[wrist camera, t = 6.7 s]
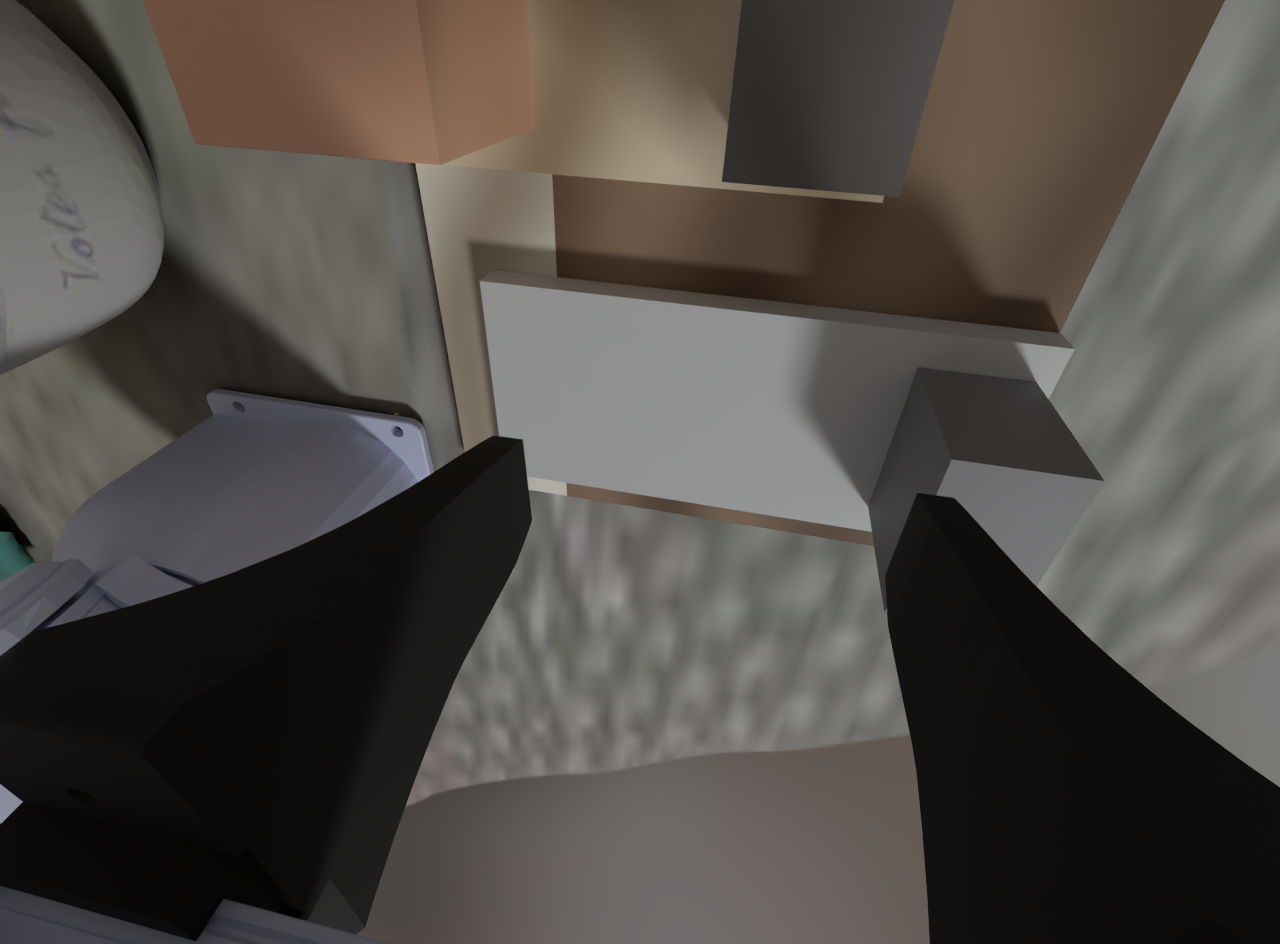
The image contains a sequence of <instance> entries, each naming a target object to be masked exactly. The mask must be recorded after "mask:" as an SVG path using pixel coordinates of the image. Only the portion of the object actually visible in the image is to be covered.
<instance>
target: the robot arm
mask: <svg viewBox="0 0 1280 944" xmlns="http://www.w3.org/2000/svg"><path fill="white" fill-rule="evenodd" d="M206 398H207V402H208V404H209V406H210V408H211V411H212V413H213V415H211V416H210V417H208V418H207V419H205V420H204V421H202V422H201V423H199V424H198V425H196V426H195V427H193V428H192V429H190V430H189V431H187V432H186V433H184V434H183V435H181V436H180V437H178V438H177V439H175V440H174V441H172V442H171V443H169V444H168V445H166V446H165V447H163V448H162V449H160V450H159V451H157V452H156V453H154V454H153V455H152V456H150V457H149V458H147V459H146V460H144V461H143V462H141V463H140V464H138V465H137V466H135V467H134V468H132V469H131V470H129V471H128V472H126V473H125V474H123V475H122V476H120V477H119V478H117V479H116V480H114V481H113V482H111V483H110V484H108V485H107V486H105V487H104V488H102V489H101V490H99V491H98V492H96V493H95V494H94V495H92V496H91V497H90V498H89V499H88V500H86V501H85V502H84V503H83V504H82V505H81V506H80V507H79V508H78V509H77V511H76V512H75V513H74V514H73V516H72V517H71V518H70V520H69V521H68V522H67V524H66V526H65V527H64V529H63V531H62V533H61V535H60V537H59V539H58V541H57V543H56V546H55V548H54V552H53V556H52V561H39V562H35V563H32V564H30V565H28V566H26V567H25V568H23V569H21V570H19V571H18V572H16V573H14V574H13V575H11V576H9V577H8V578H6V579H4V580H3V581H1V582H0V944H389V943H386V942H382V941H378V940H375V939H371V938H367V937H363V936H360V935H356V934H357V933H359V932H360V931H361V930H362V929H363V928H365V926H366V923H367V919H368V916H369V913H370V910H371V906H372V903H373V900H374V897H375V894H376V891H377V888H378V885H379V882H380V879H381V876H382V873H383V870H384V867H385V864H386V861H387V858H388V855H389V852H390V848H391V845H392V842H393V839H394V836H395V834H396V831H397V828H398V825H399V823H400V819H401V817H402V814H403V811H404V809H405V806H406V803H407V800H408V797H409V795H410V792H411V789H412V786H413V783H414V781H415V778H416V775H417V773H418V770H419V768H420V765H421V762H422V760H423V757H424V755H425V752H426V749H427V747H428V744H429V742H430V739H431V736H432V734H433V731H434V729H435V726H436V724H437V721H438V719H439V717H440V714H441V712H442V709H443V707H444V704H445V702H446V700H447V697H448V695H449V692H450V690H451V688H452V685H453V683H454V680H455V678H456V676H457V674H458V672H459V670H460V668H461V666H462V664H463V662H464V660H465V658H466V656H467V654H468V652H469V650H470V649H471V647H472V645H473V643H474V641H475V639H476V637H477V636H478V634H479V632H480V630H481V628H482V626H483V625H484V623H485V621H486V619H487V617H488V615H489V613H490V612H491V610H492V608H493V606H494V604H495V602H496V601H497V599H498V597H499V595H500V593H501V591H502V589H503V587H504V586H505V584H506V582H507V580H508V578H509V576H510V574H511V572H512V570H513V568H514V566H515V565H516V562H517V560H518V557H519V554H520V552H521V549H522V547H523V544H524V541H525V539H526V536H527V533H528V530H529V527H530V524H531V522H532V516H531V507H530V498H529V489H528V480H527V471H526V463H525V454H524V445H523V439H516V438H509V437H501V436H494V435H493V436H491V437H489V438H487V439H486V440H484V441H482V442H481V443H479V444H477V445H476V446H474V447H472V448H471V449H469V450H468V451H466V452H465V453H463V454H462V455H460V456H458V457H457V458H455V459H454V460H452V461H451V462H449V463H448V464H446V465H444V466H443V467H441V468H440V469H438V470H437V471H435V472H434V470H433V465H432V461H431V456H430V451H429V447H428V442H427V437H426V433H425V429H424V427H423V425H422V424H421V423H420V422H419V421H417V420H416V419H413V418H408V417H402V416H395V415H388V414H382V413H375V412H368V411H362V410H355V409H349V408H342V407H335V406H329V405H322V404H315V403H309V402H302V401H295V400H289V399H282V398H276V397H269V396H262V395H256V394H249V393H242V392H236V391H229V390H223V389H215V390H213V391H212V392H210V393H209V394H207V397H206ZM397 426H398V427H399V428H401V429H402V431H400V430H399V429H398V428H397ZM885 582H886V603H887V616H888V628H889V633H890V638H891V643H892V648H893V653H894V658H895V663H896V668H897V673H898V678H899V683H900V688H901V693H902V697H903V702H904V707H905V712H906V717H907V722H908V726H909V731H910V736H911V741H912V746H913V752H914V758H915V765H916V771H917V780H918V791H919V800H920V811H921V821H922V830H923V845H924V856H925V871H926V883H927V897H928V915H929V934H930V944H1280V787H1278V786H1277V785H1276V784H1274V783H1273V782H1271V781H1270V780H1268V779H1267V778H1265V777H1264V776H1263V775H1261V774H1260V773H1258V772H1257V771H1255V770H1254V769H1253V768H1251V767H1250V766H1248V765H1247V764H1245V763H1244V762H1243V761H1241V760H1240V759H1239V758H1237V757H1236V756H1234V755H1233V754H1232V753H1231V752H1229V751H1228V750H1226V749H1225V748H1224V747H1222V746H1221V745H1220V744H1218V743H1217V742H1216V741H1214V740H1213V739H1212V738H1210V737H1209V736H1208V735H1206V734H1205V733H1204V732H1202V731H1201V730H1200V729H1198V728H1197V727H1195V726H1194V725H1193V724H1191V723H1190V722H1189V721H1187V720H1186V719H1185V718H1184V717H1182V716H1181V715H1180V714H1178V713H1177V712H1176V711H1175V710H1173V709H1172V708H1171V707H1170V706H1168V705H1167V704H1166V703H1164V702H1163V701H1162V700H1161V699H1159V698H1158V697H1157V696H1156V695H1155V694H1153V693H1152V692H1151V691H1150V690H1149V689H1147V688H1146V687H1145V686H1144V685H1143V684H1141V683H1140V682H1139V681H1138V680H1137V679H1135V678H1134V677H1133V676H1132V675H1131V674H1130V673H1128V672H1127V671H1126V670H1125V669H1124V668H1122V667H1121V666H1120V665H1119V664H1118V663H1116V662H1115V661H1114V660H1113V659H1112V658H1111V657H1110V656H1108V655H1107V654H1106V653H1105V652H1104V651H1103V650H1102V649H1101V648H1099V647H1098V646H1097V645H1096V644H1095V643H1094V642H1093V641H1092V640H1091V639H1090V638H1089V637H1088V636H1086V635H1085V634H1084V633H1083V632H1082V631H1081V630H1080V629H1079V628H1078V627H1077V626H1076V625H1075V624H1074V623H1073V622H1072V621H1071V620H1070V619H1069V618H1068V617H1067V616H1065V615H1064V614H1063V613H1062V612H1061V611H1060V610H1059V609H1058V608H1057V607H1056V606H1055V605H1054V604H1053V603H1052V602H1051V601H1050V600H1049V599H1048V598H1047V597H1046V596H1045V595H1044V594H1043V593H1042V592H1041V591H1040V590H1039V589H1038V588H1037V587H1036V586H1035V584H1034V583H1033V582H1032V581H1031V580H1030V579H1029V578H1028V577H1027V576H1026V575H1025V574H1024V573H1023V572H1022V571H1021V570H1020V569H1019V568H1018V567H1017V565H1016V564H1015V563H1014V562H1013V561H1012V560H1011V559H1010V558H1009V557H1008V556H1007V555H1006V554H1005V552H1004V551H1003V550H1002V549H1001V548H1000V547H999V546H998V545H997V544H996V542H995V541H994V540H993V539H992V538H991V537H990V536H989V535H988V534H987V532H986V531H985V530H984V529H983V528H982V527H981V526H980V525H979V524H978V522H977V521H976V520H975V519H974V518H973V517H972V516H971V515H970V514H969V513H968V511H967V510H966V509H965V508H964V507H963V506H962V505H961V504H960V503H959V502H958V501H957V500H956V499H955V498H952V497H945V496H937V495H930V494H923V493H917V495H916V497H915V500H914V502H913V505H912V508H911V510H910V513H909V515H908V518H907V520H906V523H905V525H904V528H903V531H902V533H901V536H900V538H899V541H898V543H897V546H896V549H895V551H894V554H893V556H892V559H891V561H890V564H889V567H888V569H887V572H886V574H885Z"/></svg>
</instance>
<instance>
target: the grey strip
mask: <svg viewBox="0 0 1280 944" xmlns="http://www.w3.org/2000/svg"><path fill="white" fill-rule="evenodd" d="M480 288H481V296H482V304H483V312H484V320H485V328H486V336H487V344H488V352H489V360H490V368H491V376H492V384H493V392H494V399H495V407H496V415H497V423H498V431H499V436H501V437H509V438H516V439H523V445H524V454H525V463H526V471H527V477H533V478H540V479H546V480H552V481H558V482H565V483H571V484H577V485H583V486H589V487H596V488H602V489H608V490H614V491H621V492H627V493H633V494H639V495H645V496H652V497H658V498H664V499H670V500H677V501H683V502H689V503H695V504H701V505H708V506H714V507H720V508H726V509H733V510H739V511H745V512H751V513H757V514H764V515H770V516H776V517H782V518H788V519H795V520H801V521H807V522H813V523H820V524H826V525H832V526H838V527H844V528H851V529H857V530H863V531H869V532H872V535H873V542H874V548H875V554H876V561H877V567H878V574H879V580H880V586H881V593H882V599H883V606H884V612H885V613H887V603H886V582H885V574H886V572H887V569H888V567H889V564H890V561H891V559H892V556H893V554H894V551H895V549H896V546H897V543H898V541H899V538H900V536H901V533H902V531H903V528H904V525H905V523H906V520H907V518H908V515H909V513H910V510H911V508H912V505H913V502H914V500H915V497H916V495H917V493H923V494H930V495H937V496H945V497H952V498H955V499H956V500H957V501H958V502H959V503H960V504H961V505H962V506H963V507H964V508H965V509H966V510H967V511H968V513H969V514H970V515H971V516H972V517H973V518H974V519H975V520H976V521H977V522H978V524H979V525H980V526H981V527H982V528H983V529H984V530H985V531H986V532H987V534H988V535H989V536H990V537H991V538H992V539H993V540H994V541H995V542H996V544H997V545H998V546H999V547H1000V548H1001V549H1002V550H1003V551H1004V552H1005V554H1006V555H1007V556H1008V557H1009V558H1010V559H1011V560H1012V561H1013V562H1014V563H1015V564H1016V565H1017V567H1018V568H1019V569H1020V570H1021V571H1022V572H1023V573H1024V574H1025V575H1026V576H1027V577H1028V578H1029V579H1030V580H1031V581H1032V582H1033V583H1034V584H1035V586H1037V584H1038V583H1039V581H1040V580H1041V578H1042V577H1043V575H1044V574H1045V572H1046V571H1047V569H1048V567H1049V566H1050V564H1051V563H1052V561H1053V560H1054V558H1055V557H1056V555H1057V554H1058V552H1059V550H1060V549H1061V547H1062V546H1063V544H1064V543H1065V541H1066V540H1067V538H1068V537H1069V535H1070V534H1071V532H1072V530H1073V529H1074V527H1075V526H1076V524H1077V523H1078V521H1079V520H1080V518H1081V517H1082V515H1083V513H1084V512H1085V510H1086V509H1087V507H1088V506H1089V504H1090V503H1091V501H1092V500H1093V498H1094V497H1095V495H1096V493H1097V492H1098V490H1099V489H1100V487H1101V486H1102V484H1103V483H1104V480H1103V478H1102V477H1101V475H1100V474H1099V472H1098V471H1097V469H1096V468H1095V467H1094V465H1093V464H1092V462H1091V461H1090V459H1089V458H1088V456H1087V455H1086V453H1085V452H1084V451H1083V449H1082V448H1081V446H1080V445H1079V443H1078V442H1077V440H1076V439H1075V437H1074V436H1073V435H1072V433H1071V432H1070V430H1069V429H1068V427H1067V426H1066V424H1065V423H1064V421H1063V420H1062V418H1061V417H1060V416H1059V414H1058V413H1057V411H1056V410H1055V408H1054V407H1053V405H1052V404H1051V402H1050V401H1049V400H1048V399H1049V398H1050V396H1051V394H1052V392H1053V390H1054V388H1055V386H1056V384H1057V382H1058V380H1059V378H1060V376H1061V375H1062V373H1063V371H1064V369H1065V367H1066V365H1067V363H1068V361H1069V359H1070V357H1071V355H1072V353H1073V352H1074V350H1075V349H1074V348H1073V347H1072V345H1071V344H1070V343H1069V342H1068V341H1067V340H1066V339H1065V337H1064V336H1063V335H1062V334H1061V333H1055V332H1046V331H1037V330H1028V329H1019V328H1010V327H1001V326H992V325H983V324H974V323H965V322H956V321H947V320H938V319H929V318H920V317H911V316H902V315H893V314H884V313H875V312H866V311H857V310H848V309H839V308H830V307H821V306H813V305H804V304H795V303H786V302H777V301H768V300H759V299H750V298H741V297H732V296H723V295H714V294H705V293H696V292H687V291H678V290H669V289H660V288H651V287H642V286H633V285H624V284H615V283H606V282H597V281H588V280H579V279H570V278H561V277H552V276H543V275H534V274H525V273H516V272H507V271H498V270H493V271H491V272H490V273H489V274H488V275H486V276H485V277H484V278H483V279H481V280H480Z"/></svg>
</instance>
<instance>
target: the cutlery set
mask: <svg viewBox="0 0 1280 944" xmlns="http://www.w3.org/2000/svg"><path fill="white" fill-rule="evenodd" d="M32 563H34V560H33V558H32V557H31V556H29V555H28V554H26V553H25V551H24V549H23V547H22V545H20V544H19V543H17V542H16V539H15V537H14V534H13V533H11V532H0V582H1V581H3V580H4V579H6V578H8V577H9V576H11V575H13V574H14V573H16V572H18V571H19V570H21V569H23V568H25V567H26V566H28V565H30V564H32Z"/></svg>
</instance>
